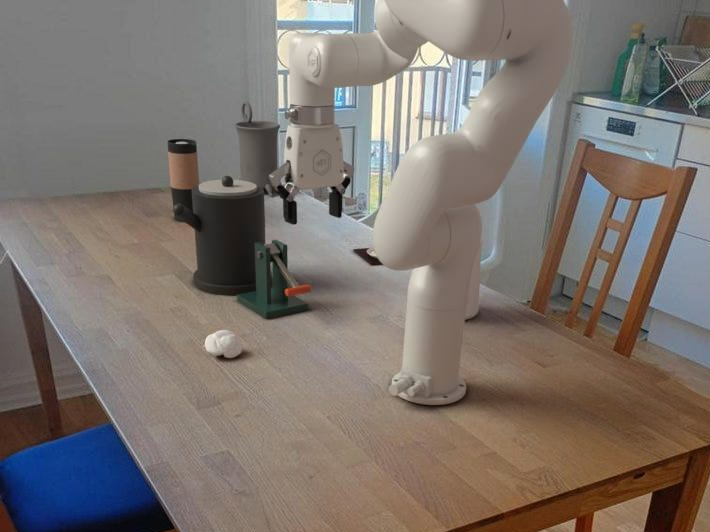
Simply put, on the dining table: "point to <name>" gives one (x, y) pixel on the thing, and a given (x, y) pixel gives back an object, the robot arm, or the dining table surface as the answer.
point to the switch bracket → (265, 297)
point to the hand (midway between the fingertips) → (313, 219)
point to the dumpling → (223, 344)
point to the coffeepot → (474, 286)
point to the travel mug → (183, 171)
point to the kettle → (225, 234)
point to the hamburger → (368, 255)
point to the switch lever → (286, 273)
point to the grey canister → (257, 149)
